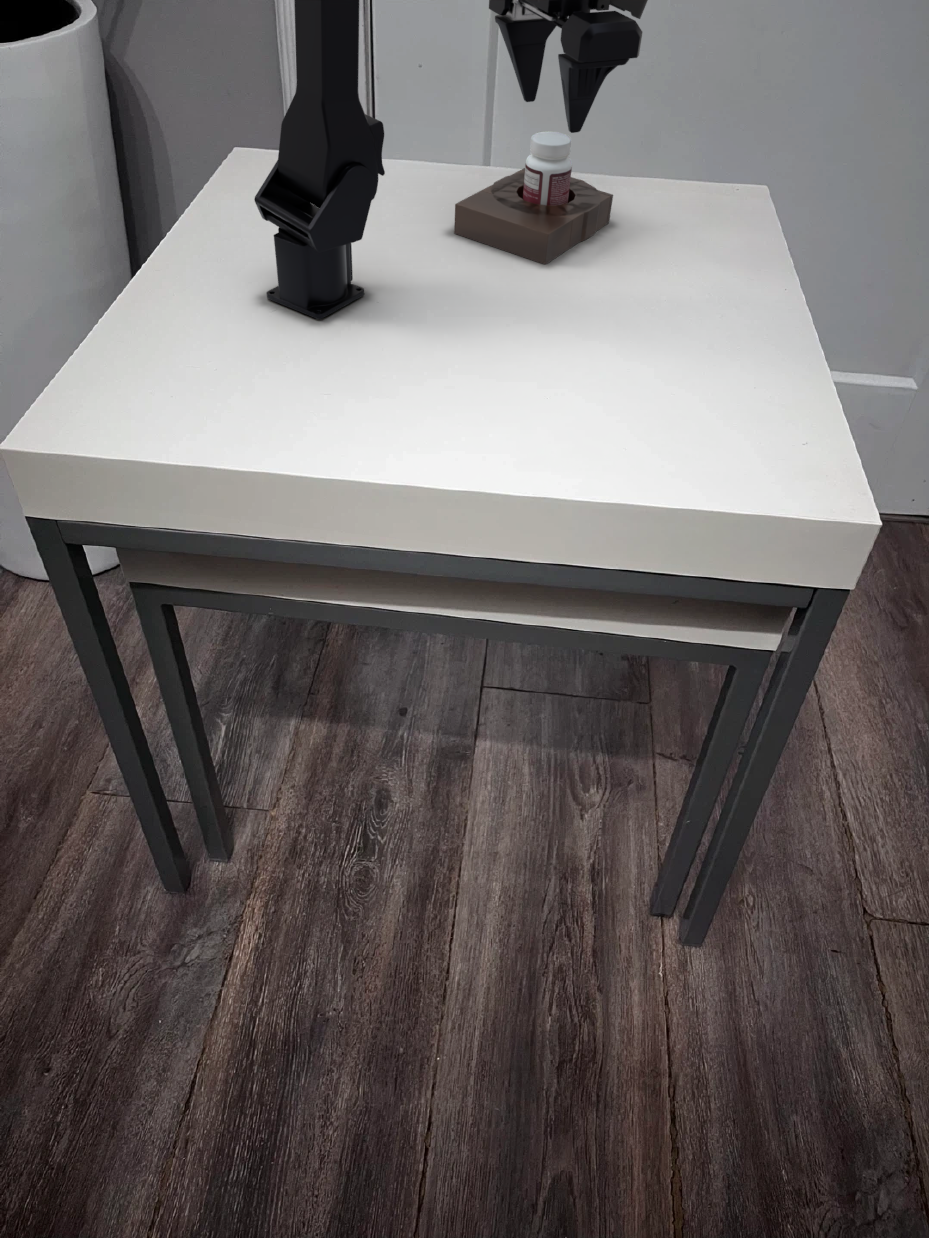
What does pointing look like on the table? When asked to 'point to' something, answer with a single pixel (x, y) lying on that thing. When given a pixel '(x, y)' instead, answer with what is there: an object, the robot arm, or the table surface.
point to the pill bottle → (548, 169)
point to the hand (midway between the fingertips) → (551, 116)
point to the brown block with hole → (531, 218)
